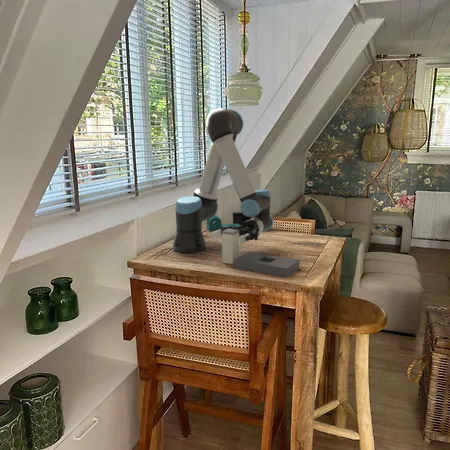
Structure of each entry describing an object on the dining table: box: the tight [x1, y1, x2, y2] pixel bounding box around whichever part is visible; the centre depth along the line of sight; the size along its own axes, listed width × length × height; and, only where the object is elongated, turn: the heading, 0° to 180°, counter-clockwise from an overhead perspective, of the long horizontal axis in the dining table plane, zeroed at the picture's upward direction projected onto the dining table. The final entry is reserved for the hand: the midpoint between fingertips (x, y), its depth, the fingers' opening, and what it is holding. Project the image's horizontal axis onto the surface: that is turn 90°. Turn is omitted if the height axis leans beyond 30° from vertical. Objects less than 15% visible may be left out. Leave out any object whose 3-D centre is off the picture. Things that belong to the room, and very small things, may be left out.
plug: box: [221, 229, 240, 265], centre depth 176 cm, size 5×5×14 cm
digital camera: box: [232, 211, 252, 226], centre depth 249 cm, size 10×5×7 cm, turn 95°
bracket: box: [206, 214, 241, 233], centre depth 238 cm, size 18×7×8 cm, turn 104°
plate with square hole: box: [234, 251, 301, 279], centre depth 168 cm, size 22×12×4 cm, turn 58°
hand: (225, 238), depth 172 cm, fingers open, 13 cm apart
